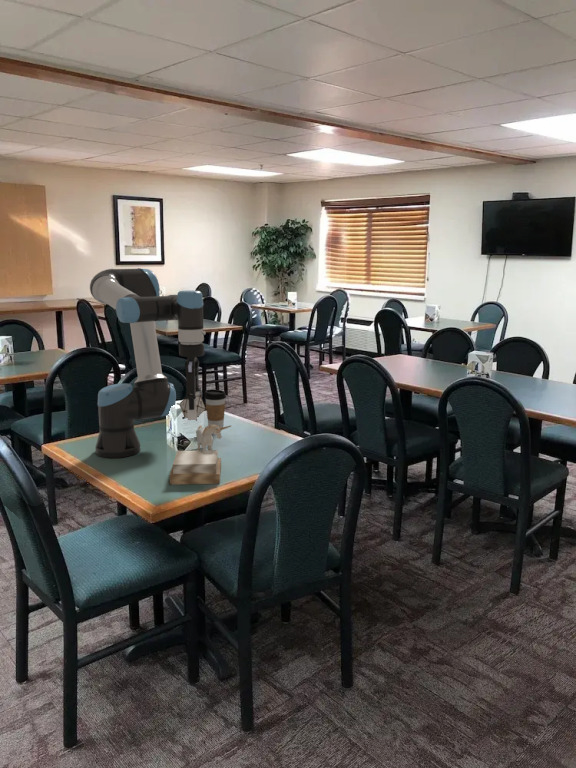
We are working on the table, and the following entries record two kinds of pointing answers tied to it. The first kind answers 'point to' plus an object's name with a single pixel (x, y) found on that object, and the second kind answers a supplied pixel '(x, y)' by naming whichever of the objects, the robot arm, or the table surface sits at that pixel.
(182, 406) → the game die
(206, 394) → the coffee cup
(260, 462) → the table surface
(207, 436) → the unicorn figurine
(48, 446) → the table surface
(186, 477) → the tower base
